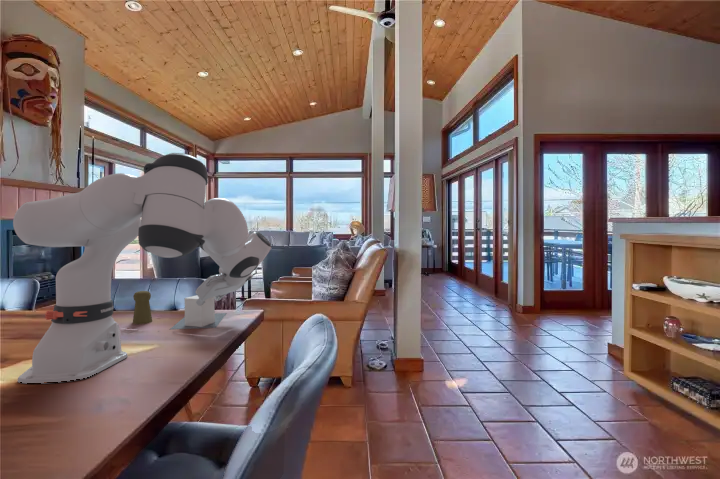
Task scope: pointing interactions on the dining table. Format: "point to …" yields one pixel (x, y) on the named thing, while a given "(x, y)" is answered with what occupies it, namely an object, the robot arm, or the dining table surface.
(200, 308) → the cover
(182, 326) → the mat
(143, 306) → the cork
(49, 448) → the dining table surface
